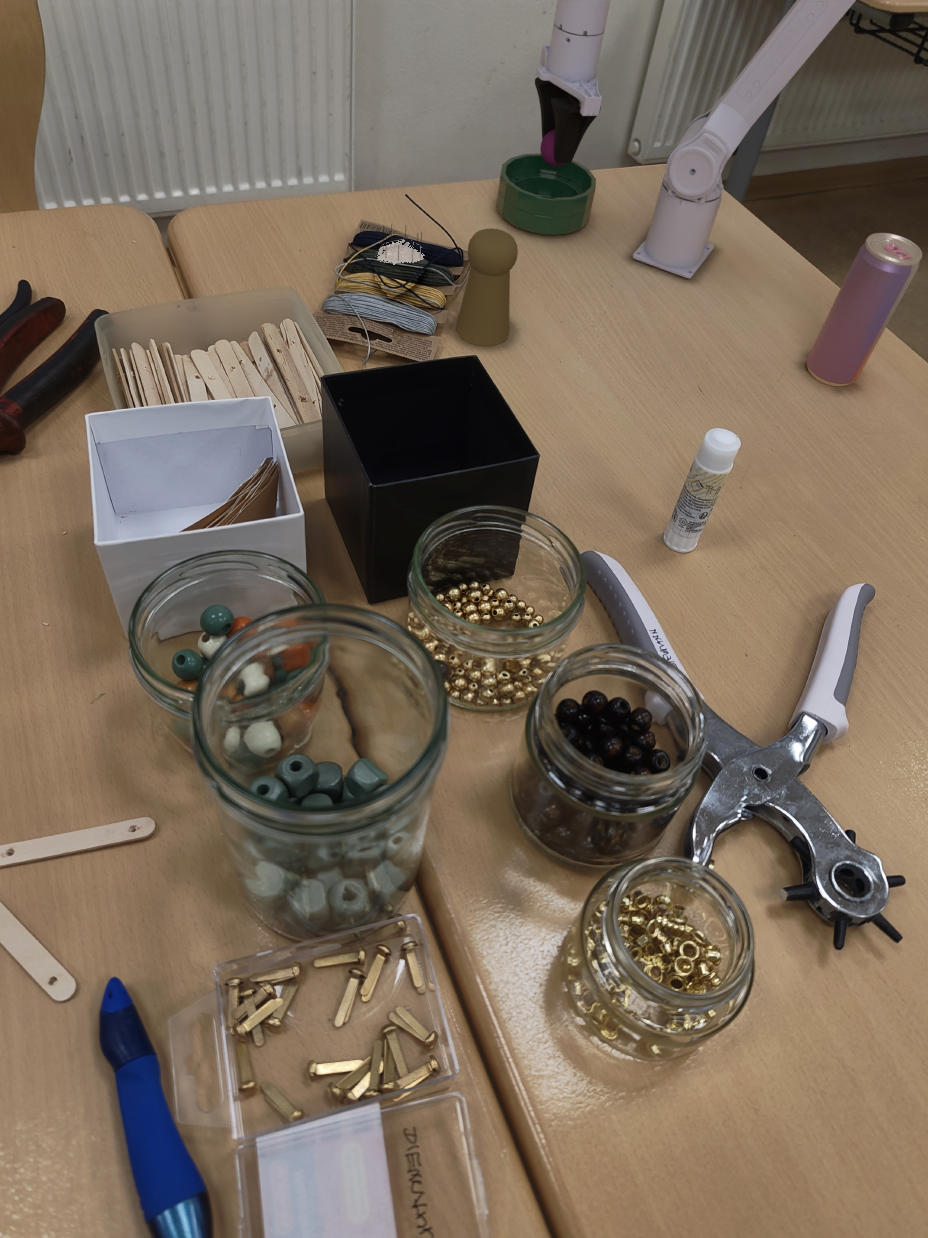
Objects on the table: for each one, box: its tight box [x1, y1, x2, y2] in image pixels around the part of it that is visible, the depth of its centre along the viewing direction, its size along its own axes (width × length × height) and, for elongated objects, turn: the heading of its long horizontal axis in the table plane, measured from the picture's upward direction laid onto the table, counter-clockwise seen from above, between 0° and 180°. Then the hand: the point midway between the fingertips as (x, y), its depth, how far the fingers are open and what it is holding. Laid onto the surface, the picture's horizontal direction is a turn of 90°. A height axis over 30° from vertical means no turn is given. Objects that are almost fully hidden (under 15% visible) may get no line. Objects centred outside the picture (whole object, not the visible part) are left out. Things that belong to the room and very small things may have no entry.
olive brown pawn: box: [455, 227, 519, 347], centre depth 92 cm, size 6×6×11 cm
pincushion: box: [377, 224, 425, 265], centre depth 100 cm, size 12×6×6 cm, turn 172°
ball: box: [539, 130, 565, 166], centre depth 106 cm, size 4×4×4 cm
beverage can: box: [806, 232, 923, 387], centre depth 92 cm, size 6×6×15 cm
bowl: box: [495, 152, 597, 236], centre depth 112 cm, size 12×12×5 cm
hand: (556, 152), depth 107 cm, fingers closed on ball, 4 cm apart
